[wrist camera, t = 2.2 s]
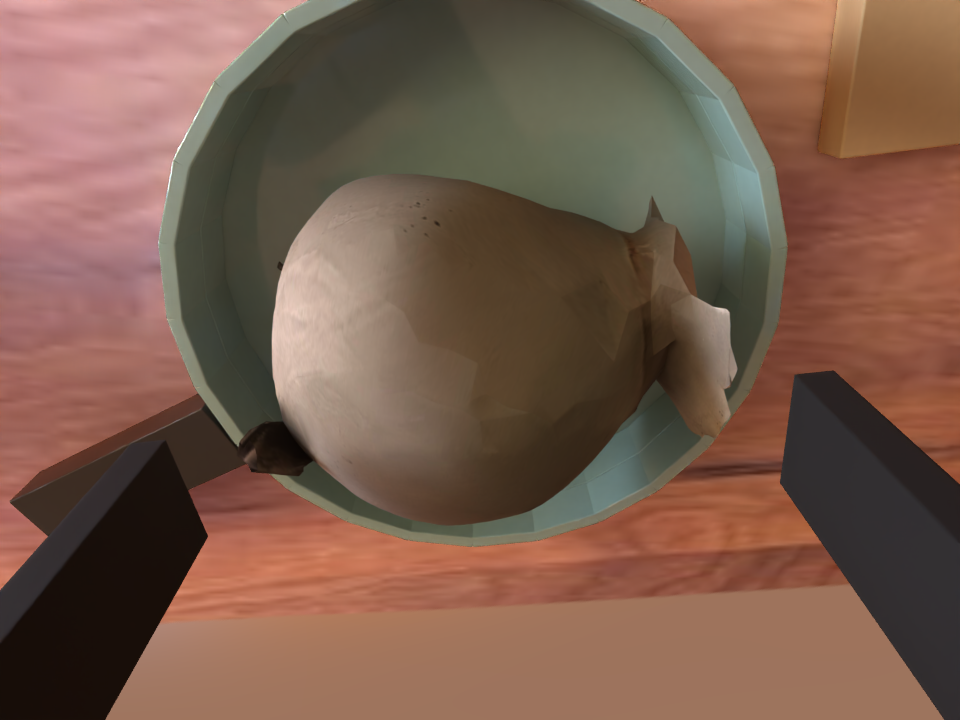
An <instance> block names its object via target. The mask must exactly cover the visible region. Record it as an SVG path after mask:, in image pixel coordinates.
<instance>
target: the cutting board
mask: <svg viewBox="0 0 960 720" xmlns="http://www.w3.org/2000/svg"><path fill="white" fill-rule="evenodd" d="M959 144H960V0H838V2H837V9H836V16H835V24H834V31H833V39H832V46H831V53H830V61H829V68H828V76H827V83H826V90H825V98H824V105H823V113H822V120H821V127H820V135H819V142H818V149H817V150H818V152H820V153H823V154H827V155H830V156H833V157H836V158H839V159H846V158H854V157H862V156H870V155H878V154H886V153H894V152H902V151H910V150H918V149H927V148H935V147H943V146H951V145H959Z"/></svg>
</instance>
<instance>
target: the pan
mask: <svg viewBox="0 0 960 720" xmlns="http://www.w3.org/2000/svg"><path fill="white" fill-rule="evenodd" d="M387 174H419V175H427V176H434V177H442V178H451V179H460V180H468V181H471V182H475V183H478V184H482V185H485V186H489V187H492V188H495V189H498V190H501V191H504V192H507V193H510V194H513V195H516V196H519V197H522V198H525V199H528V200H531V201H534V202H536V203H539V204H541V205H544V206H546V207H549V208H554V209H558V210H563V211H568V212H572V213H576V214H579V215H582V216H585V217H588V218H591V219H594V220H597V221H600V222H602V223H604V224H606V225H608V226H610V227H612V228H614V229H616V230H620V231H624V232H628V233H634V232H636V231H637V230H639V229H641V228H643V227H644V225H645V221H646V218H647V214H648V210H649V202H650V199H651V196H653V198H654V201H655V203H656V205H657V207H658V209H659V212H660V214H661V216H662V218H663V220H664V222H666V223H669V224H672V225H675V226H676V227H677V229H678V231H679V233H680V235H681V237H682V239H683V241H684V243H685V245H686V246H687V248H688V250H689V252H690V254H691V260H692V266H693V272H694V279H695V285H696V291H697V297H698V299H700V300H702V301H704V302H706V303H708V304H709V305H711V306H713V307H717V308H724V309H727V310H728V311H729V312H730V345H731V348H732V351H733V354H734V358H735V362H736V365H737V368H738V369H737V372H736V375H735V377H734V379H733V381H732V384H731V387H729V388H726V389H724V392H725V396H726V400H727V404H728V407H729V411H730V413H731V416H730V417H729V418H728V420H727V421H726V422H725V423H724V424H723V426H722V428H721V430H720V432H721V431H722V430H723V428H724V427H725V425H726V424H727V423H728V421H729V420H730V419H731V417H732V416H733V415H734V413H735V412H736V411H737V409H738V408H739V407H740V405H741V404H742V402H743V401H744V400H745V398H746V397H747V396H748V394H749V393H750V390H752V387H753V385H754V382H755V380H756V377H757V375H758V373H759V370H760V368H761V365H762V363H763V360H764V358H765V356H766V353H767V351H768V348H769V346H770V343H771V341H772V338H773V336H774V334H775V331H776V329H777V326H778V322H779V317H780V309H781V300H782V292H783V284H784V276H785V268H786V259H787V251H788V247H787V246H788V242H787V236H786V230H785V224H784V218H783V212H782V206H781V200H780V194H779V188H778V182H777V176H776V170H775V166H774V163H773V161H772V159H771V157H770V155H769V153H768V151H767V149H766V147H765V145H764V143H763V141H762V139H761V137H760V135H759V133H758V131H757V129H756V127H755V125H754V123H753V121H752V119H751V117H750V115H749V113H748V111H747V109H746V107H745V105H744V103H743V101H742V99H741V97H740V95H739V93H738V91H737V89H736V87H735V86H734V84H733V83H732V82H731V81H730V80H729V79H728V78H727V77H726V76H725V75H724V74H723V73H722V72H721V71H720V70H719V69H718V68H717V67H716V66H715V65H714V64H713V62H712V61H711V60H710V59H709V58H708V57H707V56H706V55H705V54H704V53H703V52H702V51H701V50H700V49H699V48H698V47H697V46H696V45H695V44H694V43H693V42H692V41H691V40H690V39H689V38H688V37H687V36H686V35H685V34H684V33H683V32H682V31H681V30H680V29H679V28H678V27H677V26H676V25H675V24H674V23H673V22H672V21H671V20H670V19H669V18H667V17H666V16H665V15H663V14H661V13H659V12H657V11H655V10H653V9H651V8H649V7H647V6H646V5H644V4H642V3H640V2H638V1H636V0H308V1H306V2H304V3H302V4H300V5H298V6H296V7H294V8H292V9H290V10H287V11H285V12H284V14H281V15H280V16H279V17H278V18H277V19H276V20H275V21H274V22H273V23H272V24H271V25H270V26H269V27H268V28H267V29H266V30H264V31H263V32H262V33H261V34H260V35H259V36H258V37H257V38H256V39H255V40H254V41H253V42H252V43H251V44H250V45H249V46H248V47H247V48H246V49H245V50H244V51H243V52H242V53H241V54H240V55H239V56H238V57H237V58H236V59H235V60H234V61H233V62H232V63H231V64H230V65H229V66H228V67H227V68H226V69H225V70H224V71H223V72H222V73H221V74H220V75H219V76H218V77H217V78H216V79H215V81H214V82H213V83H212V85H211V87H210V89H209V91H208V93H207V95H206V97H205V99H204V101H203V102H202V104H201V106H200V108H199V110H198V112H197V114H196V116H195V118H194V120H193V122H192V123H191V125H190V127H189V129H188V131H187V133H186V135H185V137H184V139H183V141H182V143H181V145H180V146H179V148H178V150H177V152H176V154H175V156H174V160H173V161H172V167H171V173H170V178H169V184H168V189H167V195H166V200H165V206H164V212H163V217H162V223H161V228H160V234H159V242H158V246H159V255H160V264H161V273H162V282H163V290H164V299H165V308H166V317H167V319H168V323H169V326H170V328H171V331H172V333H173V336H174V338H175V341H176V343H177V346H178V348H179V351H180V353H181V356H182V358H183V361H184V363H185V366H186V368H187V371H188V373H189V376H190V378H191V381H192V383H193V386H194V387H195V389H196V391H197V392H198V394H199V395H200V396H201V398H202V399H203V400H204V402H205V403H206V405H207V406H208V407H209V409H210V410H211V411H212V413H213V414H214V416H215V417H216V418H217V420H218V421H219V422H220V424H221V425H222V427H223V428H224V429H225V431H226V432H227V433H228V435H229V436H230V438H231V439H232V440H233V442H234V443H235V444H237V446H239V442H240V440H241V439H242V438H243V437H244V436H245V434H246V433H247V432H248V431H249V430H250V429H252V428H254V427H256V426H258V425H260V424H262V423H264V422H266V421H271V422H276V421H283V419H282V415H281V410H280V406H279V402H278V399H277V396H276V389H275V383H274V379H273V367H272V328H273V315H274V310H275V304H276V294H277V288H278V283H279V279H280V275H281V272H282V271H281V270H279V269H278V268H277V265H278V263H279V261H280V262H281V263H282V264H284V263H285V260H286V257H287V255H288V252H289V250H290V247H291V245H292V244H293V242H294V240H295V238H296V237H297V235H298V234H299V232H300V231H301V230H302V228H303V227H304V226H305V224H306V223H307V221H308V220H309V219H310V218H311V217H312V215H313V214H314V213H315V212H316V211H317V209H318V208H319V207H320V206H321V205H322V204H323V203H324V201H325V200H326V199H327V198H328V197H329V196H330V195H331V194H332V193H334V192H335V191H336V190H338V189H339V188H340V187H342V186H343V185H346V184H348V183H350V182H352V181H355V180H357V179H362V178H366V177H371V176H377V175H387ZM720 432H719V434H720ZM719 434H718V435H719ZM715 439H716V438H713V437H711V436H709V435H704V437H703V438H702V437H701V436H700V435H698V434H695V433H693V432H692V431H691V430H690V429H689V428H688V427H687V425H686V423H685V421H684V420H683V418H682V416H681V414H680V413H679V411H678V409H677V408H676V406H675V405H674V403H673V402H672V400H671V398H670V397H669V396H668V394H667V393H666V392H665V390H664V389H663V388H662V387H661V385H660V384H659V383H658V381H657V380H655V382H654V383H653V384H652V386H651V387H650V388H649V389H648V391H647V392H646V393H645V395H644V396H643V397H642V399H641V401H640V403H639V405H638V407H637V410H636V411H635V413H633V414H632V415H631V416H630V417H629V418H628V419H627V420H626V421H625V422H623V423H622V425H621V426H620V427H619V429H618V430H617V432H616V433H615V434H614V436H613V437H612V439H611V440H610V441H609V443H608V444H607V445H606V446H605V447H604V448H603V449H602V451H601V452H600V453H599V454H598V455H597V456H596V458H595V459H594V460H593V461H592V462H591V463H590V464H589V465H588V466H587V467H586V468H585V469H584V470H583V471H582V472H581V473H580V474H579V475H578V476H577V477H576V478H575V479H574V480H573V481H572V482H571V483H570V484H569V485H567V486H566V487H565V488H564V489H563V490H561V491H560V492H559V493H558V494H556V495H555V496H554V497H552V498H551V499H549V500H548V501H546V502H545V503H544V504H542V505H540V506H538V507H536V508H534V509H533V510H531V511H528V512H525V513H522V514H519V515H515V516H511V517H507V518H502V519H498V520H493V521H488V522H482V523H475V524H467V525H453V526H446V525H437V524H432V523H426V522H419V521H415V520H411V519H407V518H404V517H401V516H398V515H395V514H392V513H390V512H388V511H385V510H383V509H380V508H378V507H376V506H374V505H372V504H370V503H368V502H366V501H364V500H363V499H361V498H359V497H358V496H356V495H355V494H353V493H352V492H351V491H350V490H348V489H347V488H346V487H345V486H344V485H342V484H341V483H340V482H338V481H337V480H336V479H335V478H334V477H332V476H331V475H330V474H329V473H327V472H326V471H325V470H324V469H323V468H322V467H320V466H319V465H318V464H317V463H315V462H314V461H312V462H311V463H309V464H308V465H307V466H305V467H304V471H303V473H302V474H301V475H300V476H287V475H277V474H270V475H271V476H272V477H274V478H275V479H276V480H277V481H278V482H279V483H280V484H282V485H283V486H284V487H285V488H286V489H288V490H289V491H291V492H293V493H295V494H296V495H298V496H300V497H302V498H304V499H306V500H307V501H309V502H311V503H313V504H315V505H317V506H318V507H320V508H322V509H324V510H326V511H328V512H329V513H331V514H333V515H335V516H337V517H339V518H340V519H342V520H344V521H346V520H347V522H349V523H352V524H356V525H359V526H362V527H365V528H369V529H372V530H375V531H378V532H382V533H385V534H388V535H392V536H395V537H398V538H401V539H405V540H410V541H417V542H427V543H437V544H447V545H457V546H467V547H472V546H473V547H479V546H490V545H500V544H511V543H522V542H532V541H537V540H538V541H539V540H542V539H546V538H549V537H553V536H556V535H559V534H563V533H566V532H569V531H573V530H576V529H579V528H583V527H586V526H589V525H593V524H596V523H599V522H601V521H603V520H605V519H607V518H609V517H611V516H613V515H614V514H616V513H618V512H620V511H622V510H624V509H626V508H628V507H629V506H631V505H633V504H635V503H637V502H639V501H641V500H642V499H644V498H646V497H648V496H650V495H652V494H654V493H656V492H657V490H660V489H661V488H662V487H663V486H665V485H666V484H667V483H668V482H669V481H670V480H672V479H673V478H674V477H675V476H676V475H677V474H679V473H680V472H681V471H682V470H683V469H685V468H686V467H687V466H688V465H689V464H690V463H692V462H693V461H694V460H695V459H696V458H697V457H699V456H700V455H701V454H702V453H703V452H704V451H706V450H707V449H708V448H709V447H710V446H711V444H712V443H713V442H714V440H715Z"/></svg>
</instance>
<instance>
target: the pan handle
mask: <svg viewBox="0 0 960 720" xmlns="http://www.w3.org/2000/svg"><path fill="white" fill-rule="evenodd" d="M158 440H166V442H167V444H168V446H169V449H170V451H171V453H172V455H173V458H174V460H175V462H176V464H177V467H178V469H179V471H180V474H181V476H182V478H183V480H184V483H185V485H186V487H187V490H189V489H192V488H194V487H196V486H198V485H200V484H203V483H205V482H207V481H209V480H211V479H214V478H216V477H218V476H220V475H222V474H225V473H227V472H229V471H231V470H233V469H236V468H238V467H240V466H242V465H245V464H247V463H245V462H244V461H243V460H242V459H240V458H239V457H238V456H237V451H238V446H237V444H235V443H234V442H233V440H232V439H231V438H230V436H229V435H228V433H227V432H226V431H225V429H224V428H223V427H222V425H221V424H220V422H219V421H218V420H217V418H216V417H215V416H214V414H213V413H212V411H211V410H210V409H209V407H208V406H207V405H206V403H205V402H204V400H203V399H202V398H201V396H200V395H199V394H197V395H195V396H193V397H191V398H189V399H187V400H185V401H183V402H181V403H179V404H177V405H175V406H173V407H171V408H169V409H166V410H164V411H162V412H160V413H158V414H156V415H154V416H152V417H150V418H148V419H146V420H144V421H142V422H140V423H138V424H136V425H134V426H132V427H130V428H128V429H126V430H124V431H122V432H120V433H118V434H116V435H114V436H112V437H110V438H108V439H106V440H104V441H102V442H100V443H97V444H95V445H93V446H91V447H89V448H87V449H85V450H83V451H81V452H79V453H77V454H75V455H73V456H71V457H69V458H67V459H65V460H63V461H61V462H59V463H57V464H55V465H53V466H51V467H49V468H47V469H45V470H43V471H41V472H39V473H38V474H37V475H36V476H35V477H34V478H33V479H32V480H31V481H30V482H29V483H28V484H27V485H26V486H25V487H24V488H23V489H22V490H21V491H20V492H19V493H18V494H17V495H16V496H15V497H14V498H13V499H12V500H11V501H10V503H11V504H12V505H13V506H14V507H15V508H17V509H18V510H19V511H20V512H21V513H22V514H23V515H24V516H26V517H27V518H28V519H29V520H30V521H31V522H32V523H34V524H35V525H36V526H37V527H38V528H39V529H40V530H42V531H43V532H44V533H45V534H46V535H47V536H49V535H50V534H51V533H52V532H53V530H54V529H55V528H56V527H57V526H58V525H59V524H60V523H61V522H62V520H63V519H64V518H65V517H66V516H67V515H68V514H69V513H70V511H71V510H72V509H73V508H74V507H75V506H76V505H77V504H78V502H79V501H80V500H81V499H82V498H83V497H84V496H85V495H86V493H87V492H88V491H89V490H90V489H91V488H92V487H93V486H94V484H95V483H96V482H97V481H98V480H99V479H100V478H101V477H102V476H103V474H104V473H105V472H106V471H107V470H108V469H109V468H110V467H111V465H112V464H113V463H114V462H115V461H116V460H117V459H118V458H119V456H120V455H121V454H122V453H123V452H124V451H125V450H126V449H127V447H128V446H129V445H130V444H131V443H139V442H149V441H158Z"/></svg>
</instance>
